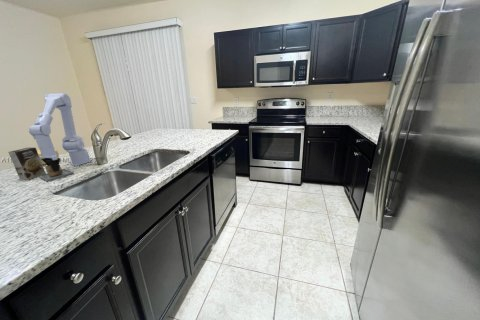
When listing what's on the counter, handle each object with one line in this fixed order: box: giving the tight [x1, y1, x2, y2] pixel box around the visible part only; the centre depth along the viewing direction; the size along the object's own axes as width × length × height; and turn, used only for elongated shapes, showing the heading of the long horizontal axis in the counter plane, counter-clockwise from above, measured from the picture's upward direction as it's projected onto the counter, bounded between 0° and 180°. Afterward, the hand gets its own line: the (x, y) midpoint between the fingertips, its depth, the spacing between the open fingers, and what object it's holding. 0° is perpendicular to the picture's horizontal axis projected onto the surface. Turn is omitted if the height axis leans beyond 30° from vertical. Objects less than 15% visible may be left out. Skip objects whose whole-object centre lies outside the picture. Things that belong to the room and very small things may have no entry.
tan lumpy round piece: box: [37, 147, 60, 166], centre depth 136 cm, size 12×12×11 cm
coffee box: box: [8, 147, 47, 181], centre depth 112 cm, size 9×6×16 cm
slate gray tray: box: [38, 168, 75, 183], centre depth 114 cm, size 12×12×1 cm
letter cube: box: [44, 164, 63, 176], centre depth 112 cm, size 5×5×5 cm
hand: (55, 170), depth 113 cm, fingers closed on letter cube, 5 cm apart
